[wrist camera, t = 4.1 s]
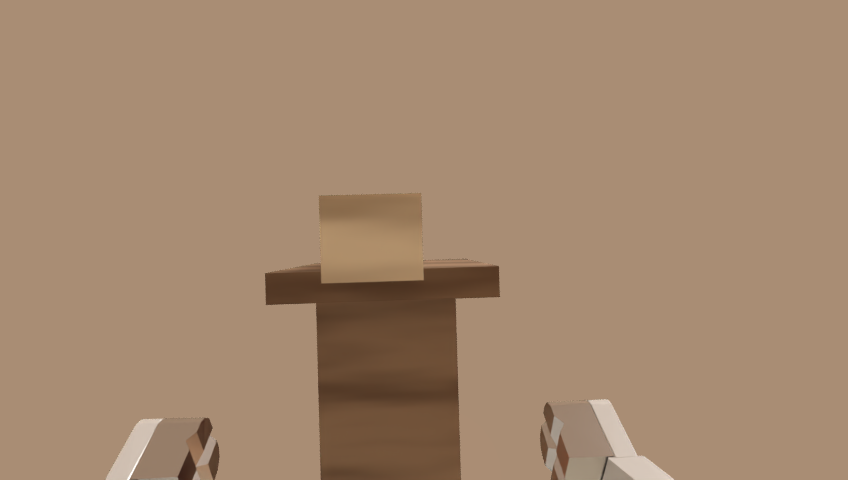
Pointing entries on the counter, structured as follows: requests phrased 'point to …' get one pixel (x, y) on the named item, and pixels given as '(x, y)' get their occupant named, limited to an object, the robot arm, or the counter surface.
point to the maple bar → (371, 238)
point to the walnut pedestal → (388, 367)
